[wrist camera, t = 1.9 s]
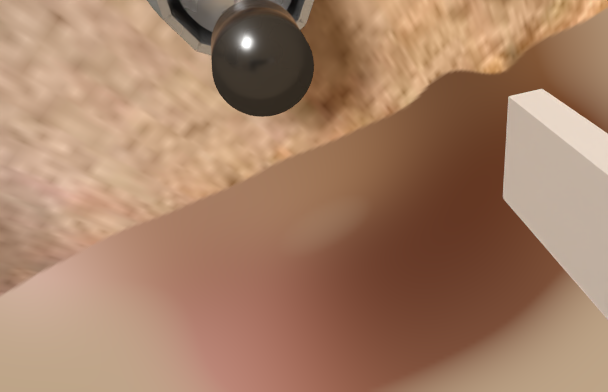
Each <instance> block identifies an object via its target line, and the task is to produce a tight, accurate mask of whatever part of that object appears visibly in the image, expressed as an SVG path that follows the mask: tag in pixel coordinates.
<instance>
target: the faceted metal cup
mask: <svg viewBox="0 0 608 392" xmlns="http://www.w3.org/2000/svg"><path fill="white" fill-rule="evenodd" d="M313 2H314V0H291V2H290V4H289V6H288V8H287V10H286V11H287V12H288V13H289V14H290V15H291V16H292V17H293V19H294V20H295V22H296V24H297V25H298V27H299V29H300V30H301V29H302V28H303V27H304V26H305V24H306V23H307V20H308V17H309V14H310V11H311V8H312V5H313ZM157 3H158V5H159V8H160V11H161V14H162V17H163V19H164V21H165V22H166V23H167V24H168V25H169V26H170V27H171V28H172V29H173V30H174V31H176V32H177V33H178V34H179V35H180V36H181V37H182V38H183V39H184V40H185V41H186V42H187V43H188V44H189V45H190V46H191V47H192V48H193V49H194V50H195V51H196V50H197V51H198V52H201V53H205V54H208V55H211V37H212V32H211V31H209V30H207V29H205V28H204V27H203V26H201V25H200V24H198V23H197V22H196V21H195V20H194V19H193V18H192V17H191V16H190V15H189V14H188V13H187V11H186V10H185V8H184V7H183V5H182V4H181V2H180V0H157Z"/></svg>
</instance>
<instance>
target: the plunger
mask: <svg viewBox="0 0 608 392" xmlns="http://www.w3.org/2000/svg"><path fill="white" fill-rule="evenodd" d="M180 2H181V4H182V5H183V7H184V8H185V10H186V11H187V13H188V14H189V15H190V16H191V17H192V18H193V19H194V20H195V21H196V22H197V23H198V24H200V25H201V26H203V27H204V28H205V29H207V30H209V31H211V32H212V37H211V56H212V72H213V78H214V82H215V85H216V88H217V89H218V91H219V93H220V95H221V96H222V97H223V99H224V100H225V101H226V102H227V103H228V104H229V105H231V106H232V107H233V108H235V109H237V110H238V111H240V112H243V113H245V114H248V115H253V116H272V115H276V114H279V113H282V112H284V111H287V110H288V109H290V108H291V107H293V106H294V105H295V104H297V103H298V102H299V101H300V100H301V99H302V97H303V96H304V95H305V93H306V92H307V90H308V88H309V86H310V84H311V81H312V77H313V71H314V62H313V56H312V52H311V49H310V46H309V44H308V43H307V41H306V39H305V37H304V36H303V34H302V32H301V31H300V29H299V27H298V25H297V24H296V22H295V20H294V19H293V17H292V16H291V15H290V14H289V13H288V12H287V11H286V10H287V8H288V6H289V4H290V2H291V0H180Z"/></svg>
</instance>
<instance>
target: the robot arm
mask: <svg viewBox="0 0 608 392" xmlns="http://www.w3.org/2000/svg"><path fill="white" fill-rule="evenodd" d="M503 198H504V200H505V201H506V202H507V203H508V204H509V206H510V207H511V208H512V209H513V210H514V211H515V213H516V214H517V215H518V216H519V217H520V218H521V220H522V221H523V222H524V223H525V224H526V225H527V227H528V228H529V229H530V230H531V231H532V232H533V234H534V235H535V236H536V237H537V238H538V239H539V240H540V242H541V243H542V244H543V245H544V246H545V248H547V250H548V251H549V252H550V253H551V254H552V256H553V257H554V258H555V259H556V260H557V261H558V263H559V264H560V265H561V266H562V267H563V268H564V270H565V271H566V272H567V273H568V274H569V275H570V277H571V278H572V279H573V280H574V281H575V282H576V283H577V285H578V286H579V287H580V288H581V289H582V290H583V292H585V294H586V295H587V296H588V297H589V299H590V300H591V301H592V302H593V303H594V304H595V306H596V307H597V308H598V309H599V310H600V311H601V312H602V314H603V315H604V316H605V317H606V318H607V319H608V134H607V133H605V132H604V131H603V130H601V129H600V128H598V127H597V126H596V125H594V124H593V123H591V122H590V121H588V120H587V119H585V118H584V117H583V116H581V115H579V114H578V113H577V112H575V111H574V110H572V109H571V108H569V107H568V106H566V105H565V104H564V103H562V102H560V101H559V100H558V99H556V98H555V97H553V96H552V95H551V94H549V93H548V92H546V91H545V90H543V89H539V90H535V91H530V92H526V93H521V94H517V95H513V96H509V98H508V116H507V133H506V150H505V168H504V185H503Z"/></svg>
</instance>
